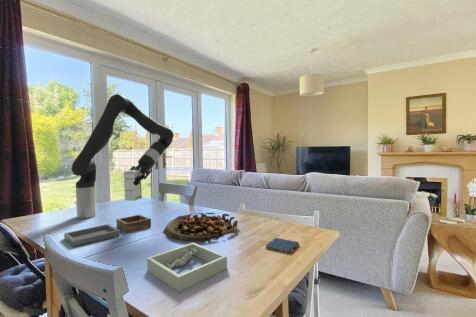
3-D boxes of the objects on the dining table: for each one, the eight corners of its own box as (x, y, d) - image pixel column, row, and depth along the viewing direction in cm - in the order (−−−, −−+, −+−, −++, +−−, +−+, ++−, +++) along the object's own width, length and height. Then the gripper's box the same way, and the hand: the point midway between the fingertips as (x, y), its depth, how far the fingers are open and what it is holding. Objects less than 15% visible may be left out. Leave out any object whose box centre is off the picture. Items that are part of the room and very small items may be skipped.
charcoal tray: (64, 238, 112) (64, 233, 112) (108, 229, 125) (108, 224, 125) (73, 247, 102) (72, 241, 102) (119, 235, 115) (119, 230, 115)
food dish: (246, 225, 132) (246, 210, 132) (221, 251, 101) (221, 232, 101) (186, 217, 144) (186, 203, 143) (147, 238, 113) (147, 221, 112)
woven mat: (290, 256, 93) (290, 250, 93) (264, 250, 98) (264, 244, 98) (300, 246, 101) (300, 241, 101) (275, 241, 107) (275, 236, 107)
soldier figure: (160, 272, 83) (183, 248, 93) (171, 282, 82) (192, 257, 92) (168, 261, 79) (191, 237, 89) (180, 272, 78) (201, 247, 88)
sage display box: (147, 270, 82) (146, 258, 82) (193, 253, 95) (193, 242, 95) (178, 291, 70) (178, 277, 69) (227, 268, 83) (226, 256, 82)
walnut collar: (116, 227, 127) (116, 219, 127) (140, 221, 136) (139, 214, 136) (126, 232, 119) (126, 224, 119) (151, 226, 128) (150, 218, 128)
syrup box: (135, 201, 124) (134, 171, 123) (124, 200, 125) (123, 170, 124) (141, 198, 129) (141, 169, 129) (131, 198, 131) (130, 169, 130)
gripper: (136, 153, 136) (116, 178, 127) (154, 154, 128) (133, 180, 119) (145, 163, 141) (126, 187, 132) (162, 164, 133) (143, 189, 124)
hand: (129, 183), depth 126 cm, fingers closed on syrup box, 7 cm apart
